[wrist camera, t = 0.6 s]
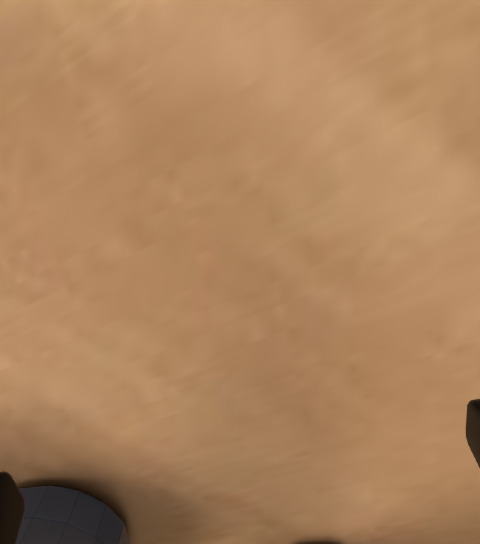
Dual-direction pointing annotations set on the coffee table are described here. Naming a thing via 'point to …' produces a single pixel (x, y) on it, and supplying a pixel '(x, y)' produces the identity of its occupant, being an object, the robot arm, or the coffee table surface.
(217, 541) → the coffee table surface
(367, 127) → the coffee table surface
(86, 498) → the pot
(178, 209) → the coffee table surface
